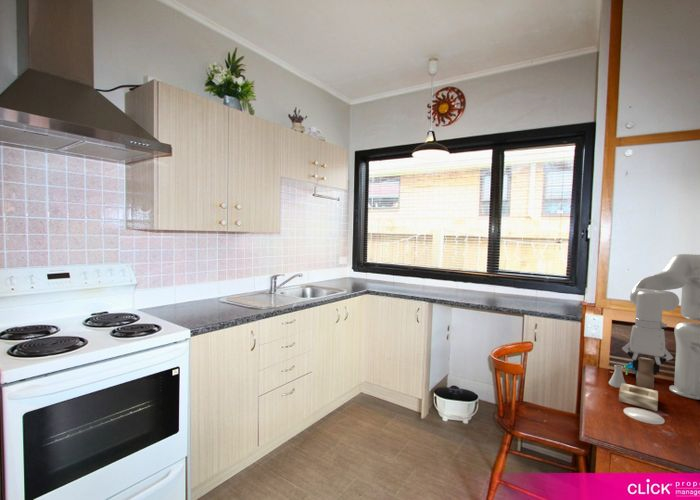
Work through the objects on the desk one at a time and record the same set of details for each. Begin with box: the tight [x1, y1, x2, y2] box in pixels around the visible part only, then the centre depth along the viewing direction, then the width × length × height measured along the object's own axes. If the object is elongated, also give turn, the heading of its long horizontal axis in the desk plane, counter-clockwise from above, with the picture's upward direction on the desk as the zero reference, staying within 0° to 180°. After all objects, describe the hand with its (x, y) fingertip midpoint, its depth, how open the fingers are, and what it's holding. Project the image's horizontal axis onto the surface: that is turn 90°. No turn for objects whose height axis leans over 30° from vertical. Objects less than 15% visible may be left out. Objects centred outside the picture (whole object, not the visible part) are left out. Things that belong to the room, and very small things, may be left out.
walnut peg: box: [636, 356, 656, 389], centre depth 132 cm, size 5×5×10 cm
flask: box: [608, 364, 627, 389], centre depth 161 cm, size 7×7×10 cm
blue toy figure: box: [623, 362, 637, 379], centre depth 174 cm, size 11×6×10 cm
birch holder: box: [618, 382, 659, 412], centre depth 145 cm, size 12×12×5 cm
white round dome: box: [623, 407, 666, 425], centre depth 133 cm, size 12×12×1 cm
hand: (645, 371), depth 132 cm, fingers closed on walnut peg, 5 cm apart
